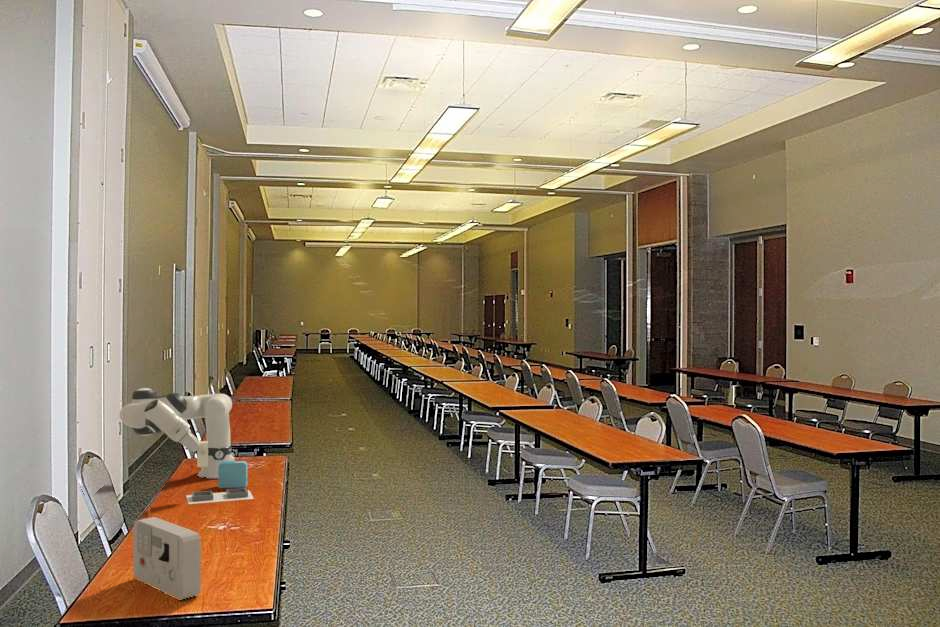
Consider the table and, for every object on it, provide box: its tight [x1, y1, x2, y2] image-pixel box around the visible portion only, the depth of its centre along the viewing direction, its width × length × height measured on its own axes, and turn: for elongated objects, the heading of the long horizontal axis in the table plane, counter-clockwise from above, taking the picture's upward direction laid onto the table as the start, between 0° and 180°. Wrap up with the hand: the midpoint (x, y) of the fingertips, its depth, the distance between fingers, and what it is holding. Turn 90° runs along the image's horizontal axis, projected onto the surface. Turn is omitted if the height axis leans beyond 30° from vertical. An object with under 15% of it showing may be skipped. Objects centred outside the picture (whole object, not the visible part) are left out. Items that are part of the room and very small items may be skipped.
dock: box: [186, 487, 255, 505], centre depth 326 cm, size 16×26×3 cm, turn 113°
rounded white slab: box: [132, 516, 202, 601], centre depth 222 cm, size 29×8×18 cm, turn 50°
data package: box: [217, 460, 249, 489], centre depth 345 cm, size 12×4×12 cm, turn 98°
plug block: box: [196, 440, 208, 468], centre depth 323 cm, size 4×4×10 cm
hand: (204, 452), depth 323 cm, fingers closed on plug block, 4 cm apart
